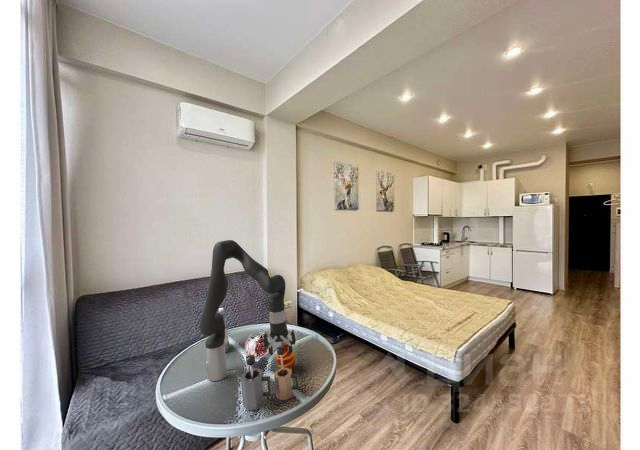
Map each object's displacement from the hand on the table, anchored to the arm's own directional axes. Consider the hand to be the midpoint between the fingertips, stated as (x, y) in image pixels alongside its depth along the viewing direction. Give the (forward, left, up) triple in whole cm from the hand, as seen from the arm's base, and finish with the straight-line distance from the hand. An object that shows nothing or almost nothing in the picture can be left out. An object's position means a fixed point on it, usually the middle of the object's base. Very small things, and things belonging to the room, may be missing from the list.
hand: (281, 353), depth 118 cm
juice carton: (-46, +44, -20) cm, 67 cm away
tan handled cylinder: (+1, 0, -19) cm, 19 cm away
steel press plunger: (-13, -4, -17) cm, 22 cm away
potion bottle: (-1, +18, -20) cm, 26 cm away
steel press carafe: (-11, -4, -19) cm, 23 cm away
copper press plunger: (0, 0, -12) cm, 12 cm away
